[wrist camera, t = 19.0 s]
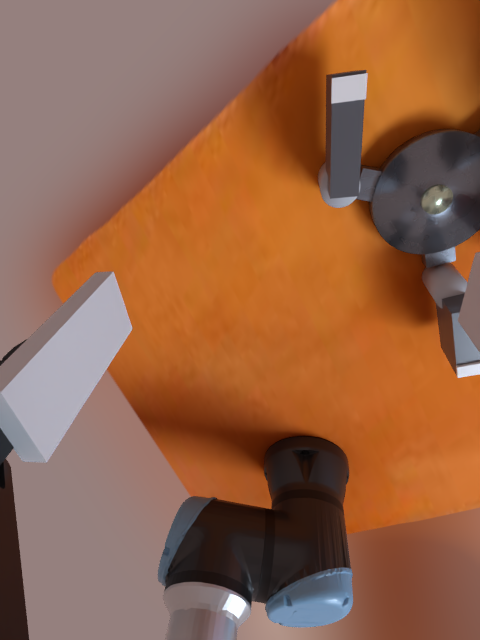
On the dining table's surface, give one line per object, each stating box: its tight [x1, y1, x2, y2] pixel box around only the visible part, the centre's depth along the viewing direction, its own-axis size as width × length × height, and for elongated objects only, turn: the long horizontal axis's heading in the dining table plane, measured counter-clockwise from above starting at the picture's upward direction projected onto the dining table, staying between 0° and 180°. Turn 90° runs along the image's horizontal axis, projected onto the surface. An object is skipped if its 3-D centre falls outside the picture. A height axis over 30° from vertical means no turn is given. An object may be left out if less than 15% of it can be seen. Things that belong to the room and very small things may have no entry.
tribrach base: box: [356, 129, 480, 268], centre depth 36 cm, size 14×15×3 cm
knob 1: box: [422, 262, 480, 378], centre depth 41 cm, size 11×4×8 cm, turn 22°
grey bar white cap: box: [318, 70, 368, 208], centre depth 32 cm, size 11×4×8 cm, turn 7°
